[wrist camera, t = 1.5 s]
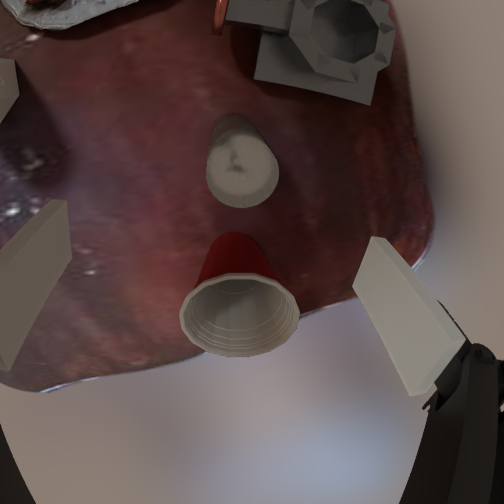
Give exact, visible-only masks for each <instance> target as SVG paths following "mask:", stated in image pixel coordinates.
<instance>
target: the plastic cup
mask: <svg viewBox="0 0 504 504" xmlns="http://www.w3.org/2000/svg"><path fill="white" fill-rule="evenodd" d="M299 315H300V312H299V309H298V306H297V304H296V301H295V298H294V296H293V295H292V293H290V292H289V291H288V290H287V289H286V288H284V286H283V285H282V284H281V282H280V280H279V278H277V276H276V274H275V273H274V271H273V269H272V267H271V266H270V264H269V262H268V260H267V259H266V257H265V255H264V254H263V252H261V250H260V248H259V247H258V245H257V243H256V242H255V241H253V240H252V239H251V238H250V237H249V236H248V235H245V234H242V233H240V232H229V233H226V234H224V235H221V236H220V237H218V238H217V239H216V240H215V241H214V242H213V243H212V245H211V247H210V250H209V252H208V255H207V257H206V260H205V262H204V264H203V267H202V270H201V273H200V275H199V278H198V281H197V284H196V286H195V287H194V289H193V290H192V291H191V292H190V293H189V294H188V295H187V296H186V298H185V301H184V303H183V305H182V308H181V310H180V312H179V316H180V322H181V328H182V330H183V331H184V333H185V334H186V335H187V337H188V338H189V339H190V340H191V342H192V343H194V344H195V345H197V346H199V347H200V348H202V349H204V350H206V351H207V352H210V353H214V354H218V355H222V356H226V357H250V356H254V355H259V354H263V353H266V352H269V351H271V350H273V349H275V348H276V347H278V346H280V345H281V344H283V343H285V342H286V341H287V340H288V338H289V337H290V336H291V335H292V334H293V332H294V331H295V330H296V329H297V324H298V320H299Z"/></svg>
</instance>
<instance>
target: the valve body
mask: <svg viewBox="0 0 504 504" xmlns="http://www.w3.org/2000/svg"><path fill="white" fill-rule="evenodd" d="M227 5H228V9H227ZM226 10H227V14H226ZM388 11H389V4H387V3H384V2H382V1H380V0H229V4H228V0H217V3H216V8H215V14H214V20H213V26H212V35H218V36H221V35H222V31H223V26H224V20H225V25H233V26H241V27H247V28H254V29H260V30H261V31H260V37H259V42H258V47H257V53H256V58H255V64H254V69H253V75H252V79H254V80H260V81H266V82H272V83H278V84H283V85H288V86H293V87H298V88H302V89H307V90H312V91H316V92H320V93H324V94H328V95H332V96H336V97H340V98H344V99H347V100H351V101H355V102H358V103H362V104H365V105H369V106H370V105H371V100H372V96H373V91H374V87H375V82H376V77H377V72H378V71H380V70H381V69H383V68H385V67H387V66H388V65H390V60H391V54H392V49H393V43H394V38H395V32H396V27H395V26H394V24H393V22H392V21H391V19H390V17H389V16H388ZM225 15H226V19H225Z"/></svg>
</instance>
